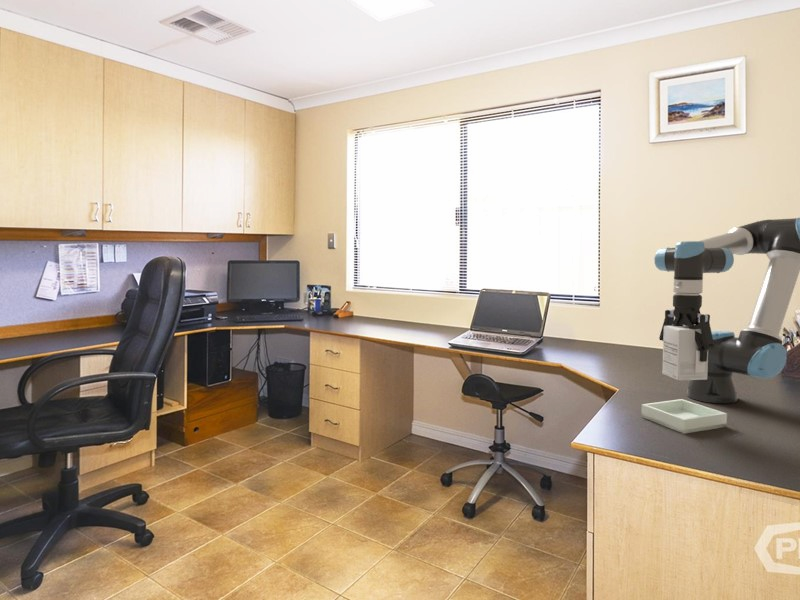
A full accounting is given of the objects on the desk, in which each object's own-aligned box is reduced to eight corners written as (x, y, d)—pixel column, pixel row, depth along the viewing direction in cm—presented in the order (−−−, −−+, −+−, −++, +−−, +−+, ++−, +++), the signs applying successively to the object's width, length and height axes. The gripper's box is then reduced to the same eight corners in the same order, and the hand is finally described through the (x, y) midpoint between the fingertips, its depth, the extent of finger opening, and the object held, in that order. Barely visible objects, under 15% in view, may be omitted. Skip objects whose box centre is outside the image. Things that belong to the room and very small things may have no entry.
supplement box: (690, 372, 163) (692, 324, 162) (708, 380, 154) (710, 329, 153) (661, 373, 163) (662, 325, 161) (677, 380, 154) (679, 329, 152)
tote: (681, 411, 170) (681, 398, 170) (726, 426, 155) (727, 413, 155) (641, 416, 165) (641, 404, 165) (683, 433, 150) (684, 419, 149)
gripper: (647, 291, 166) (645, 361, 168) (711, 297, 144) (707, 378, 146) (666, 290, 168) (664, 360, 170) (732, 296, 147) (728, 375, 149)
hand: (684, 368), depth 158 cm, fingers closed on supplement box, 10 cm apart
